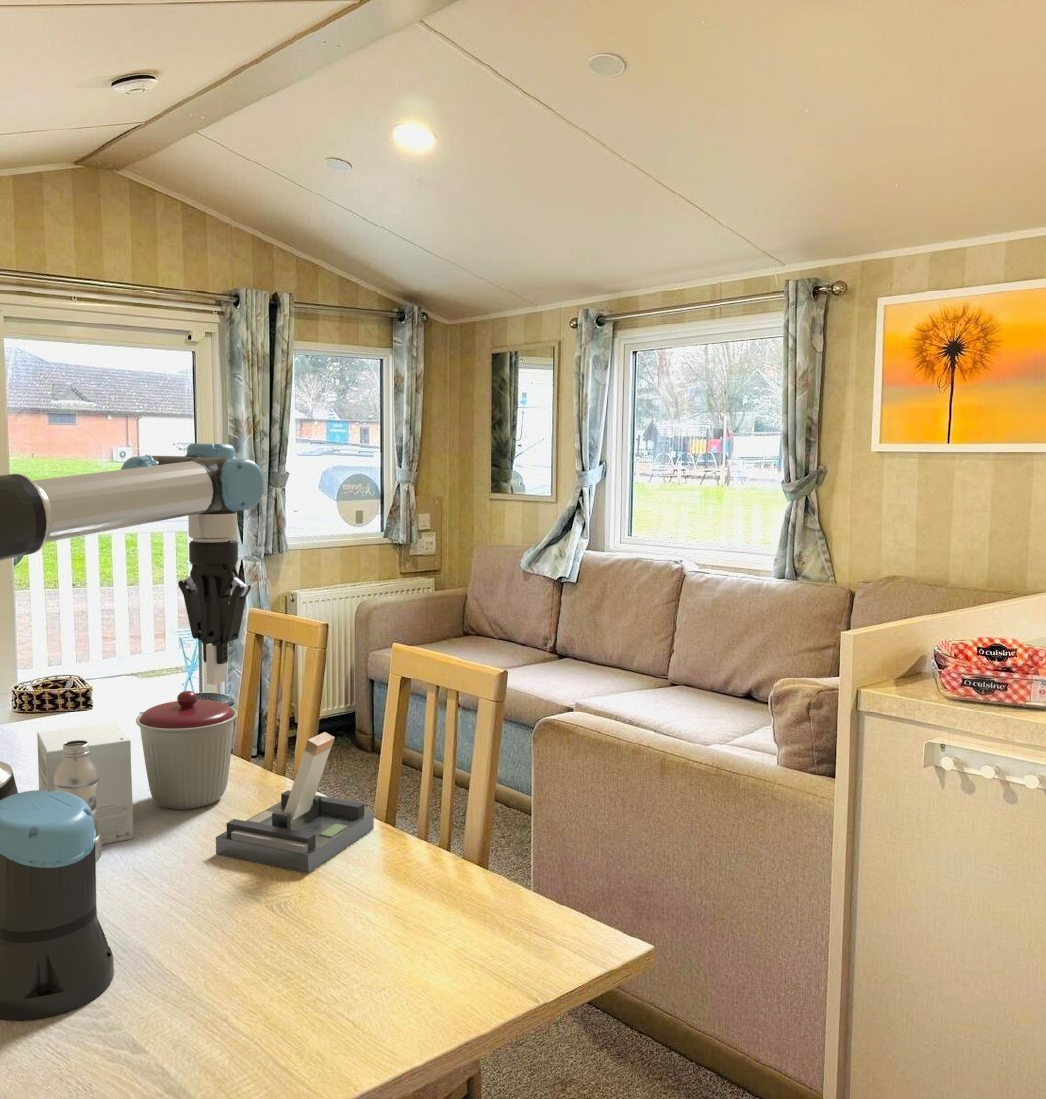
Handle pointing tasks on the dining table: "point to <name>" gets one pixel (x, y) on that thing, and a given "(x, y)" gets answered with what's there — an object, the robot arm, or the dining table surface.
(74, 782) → the plastic bottle
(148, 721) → the canister
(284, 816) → the panel
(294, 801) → the lever
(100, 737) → the supplement box
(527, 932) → the dining table surface
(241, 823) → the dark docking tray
